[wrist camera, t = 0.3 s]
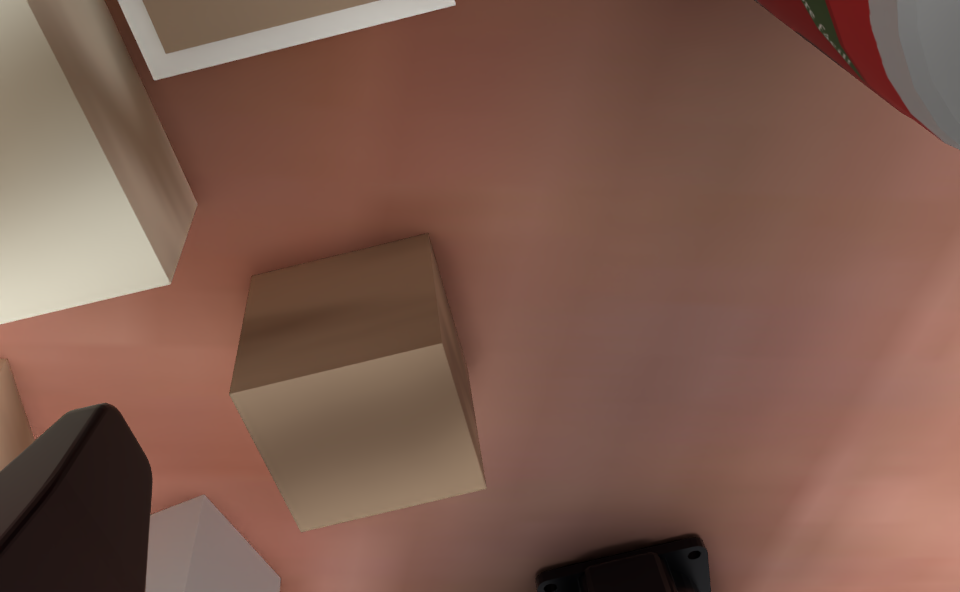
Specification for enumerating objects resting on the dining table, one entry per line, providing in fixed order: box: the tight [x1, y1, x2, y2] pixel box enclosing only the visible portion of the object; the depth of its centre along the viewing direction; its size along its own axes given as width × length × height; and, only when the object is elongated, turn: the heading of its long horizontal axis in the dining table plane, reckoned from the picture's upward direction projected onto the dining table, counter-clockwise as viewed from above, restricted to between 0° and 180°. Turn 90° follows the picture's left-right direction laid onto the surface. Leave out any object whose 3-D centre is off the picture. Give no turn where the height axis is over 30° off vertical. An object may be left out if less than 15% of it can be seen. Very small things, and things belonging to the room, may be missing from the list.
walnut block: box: [229, 233, 487, 532], centre depth 23 cm, size 5×5×5 cm
